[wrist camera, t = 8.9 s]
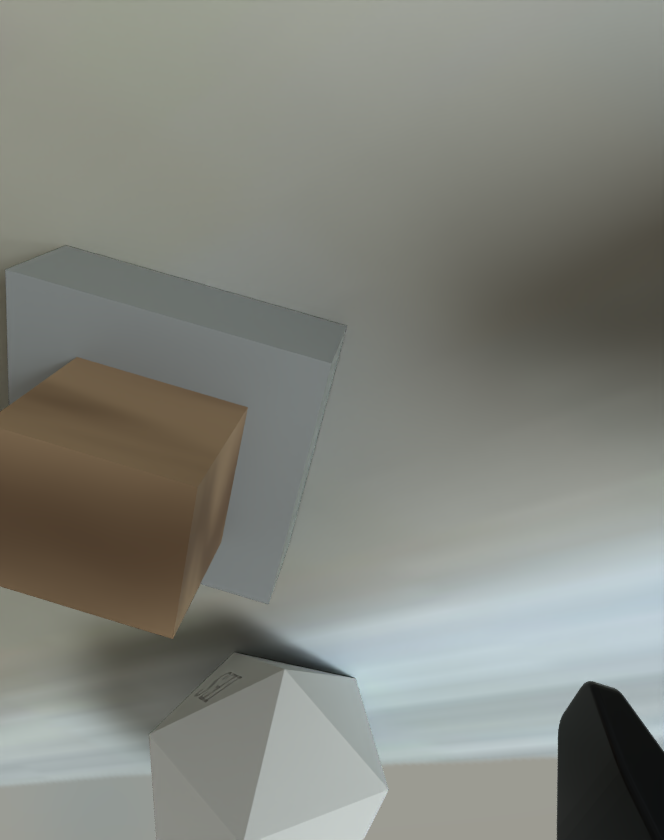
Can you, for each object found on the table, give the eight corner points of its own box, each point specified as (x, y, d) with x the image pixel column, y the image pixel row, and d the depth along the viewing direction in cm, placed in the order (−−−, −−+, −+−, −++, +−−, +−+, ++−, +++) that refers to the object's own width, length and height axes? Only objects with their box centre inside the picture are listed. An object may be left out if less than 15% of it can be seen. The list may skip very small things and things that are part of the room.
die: (279, 562, 25) (50, 770, 19) (465, 731, 21) (243, 1041, 16) (281, 643, 31) (109, 815, 26) (424, 782, 27) (256, 1014, 22)
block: (221, 541, 20) (172, 639, 16) (71, 496, 20) (-9, 583, 16) (248, 407, 17) (197, 487, 14) (77, 356, 17) (-17, 423, 14)
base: (347, 325, 19) (331, 363, 16) (288, 546, 23) (268, 604, 21) (65, 245, 19) (5, 269, 16) (60, 478, 23) (11, 526, 21)
